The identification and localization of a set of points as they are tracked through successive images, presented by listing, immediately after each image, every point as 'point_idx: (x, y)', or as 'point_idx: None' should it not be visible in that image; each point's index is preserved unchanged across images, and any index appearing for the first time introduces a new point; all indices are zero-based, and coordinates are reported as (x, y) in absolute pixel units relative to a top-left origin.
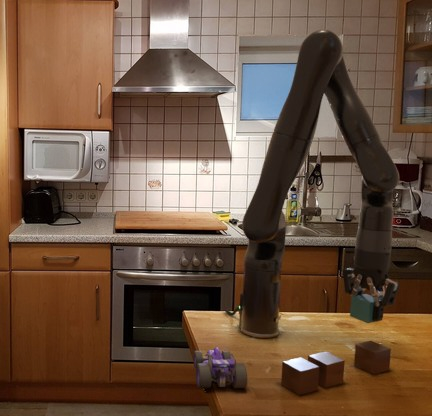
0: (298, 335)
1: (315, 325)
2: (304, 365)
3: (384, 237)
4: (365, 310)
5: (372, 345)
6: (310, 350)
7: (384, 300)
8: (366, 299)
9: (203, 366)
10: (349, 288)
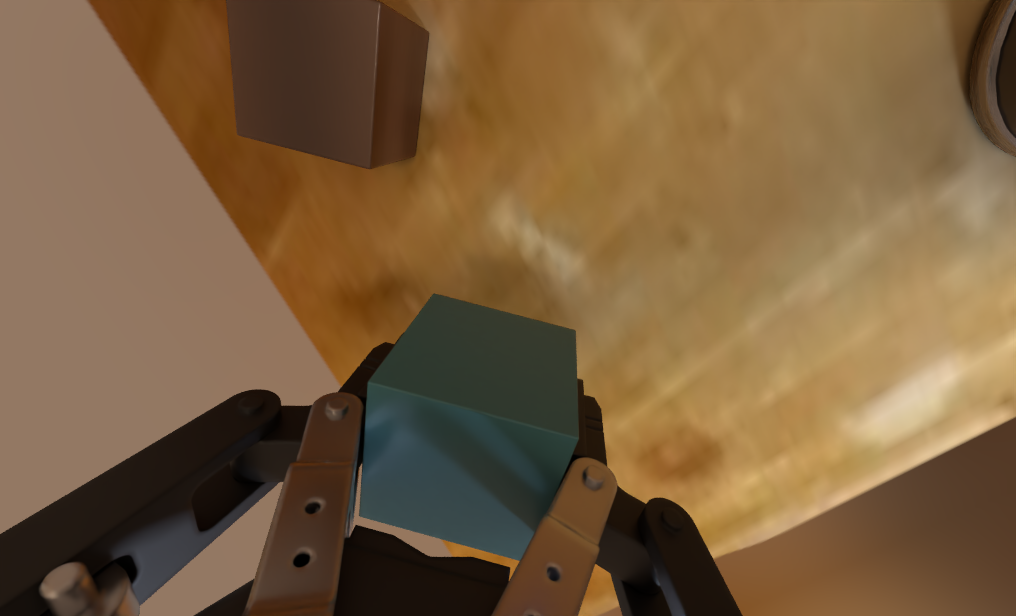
0: (832, 189)
1: (790, 377)
2: None
3: None
4: (434, 342)
5: (313, 86)
6: (693, 24)
7: (223, 431)
8: (442, 445)
9: None
10: (653, 554)
